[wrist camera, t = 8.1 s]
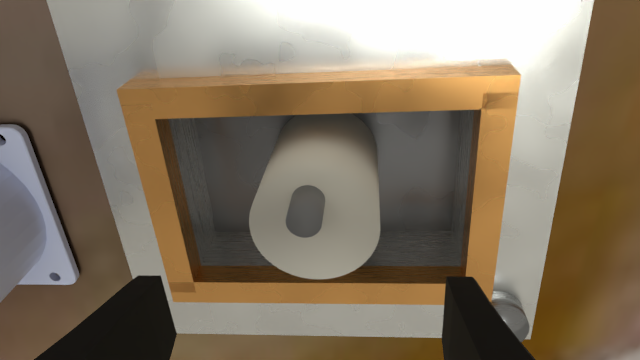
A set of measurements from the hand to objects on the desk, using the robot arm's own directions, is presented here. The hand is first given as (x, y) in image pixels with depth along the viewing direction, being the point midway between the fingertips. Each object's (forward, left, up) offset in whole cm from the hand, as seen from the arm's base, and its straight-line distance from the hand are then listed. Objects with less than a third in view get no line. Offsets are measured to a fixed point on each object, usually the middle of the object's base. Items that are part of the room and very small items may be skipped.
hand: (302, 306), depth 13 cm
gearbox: (0, 0, -8) cm, 8 cm away
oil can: (0, 0, -8) cm, 8 cm away
